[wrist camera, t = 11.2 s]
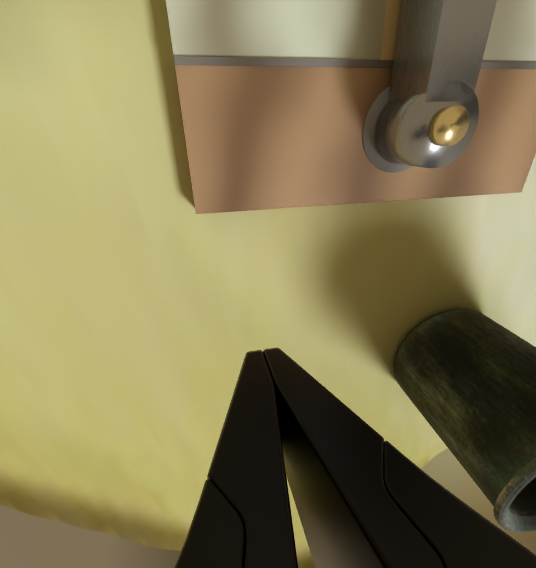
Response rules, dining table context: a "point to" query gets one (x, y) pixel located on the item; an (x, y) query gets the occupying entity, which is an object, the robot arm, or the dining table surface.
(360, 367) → the dining table surface
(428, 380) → the mug
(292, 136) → the door mock-up board
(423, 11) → the bar
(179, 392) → the dining table surface
